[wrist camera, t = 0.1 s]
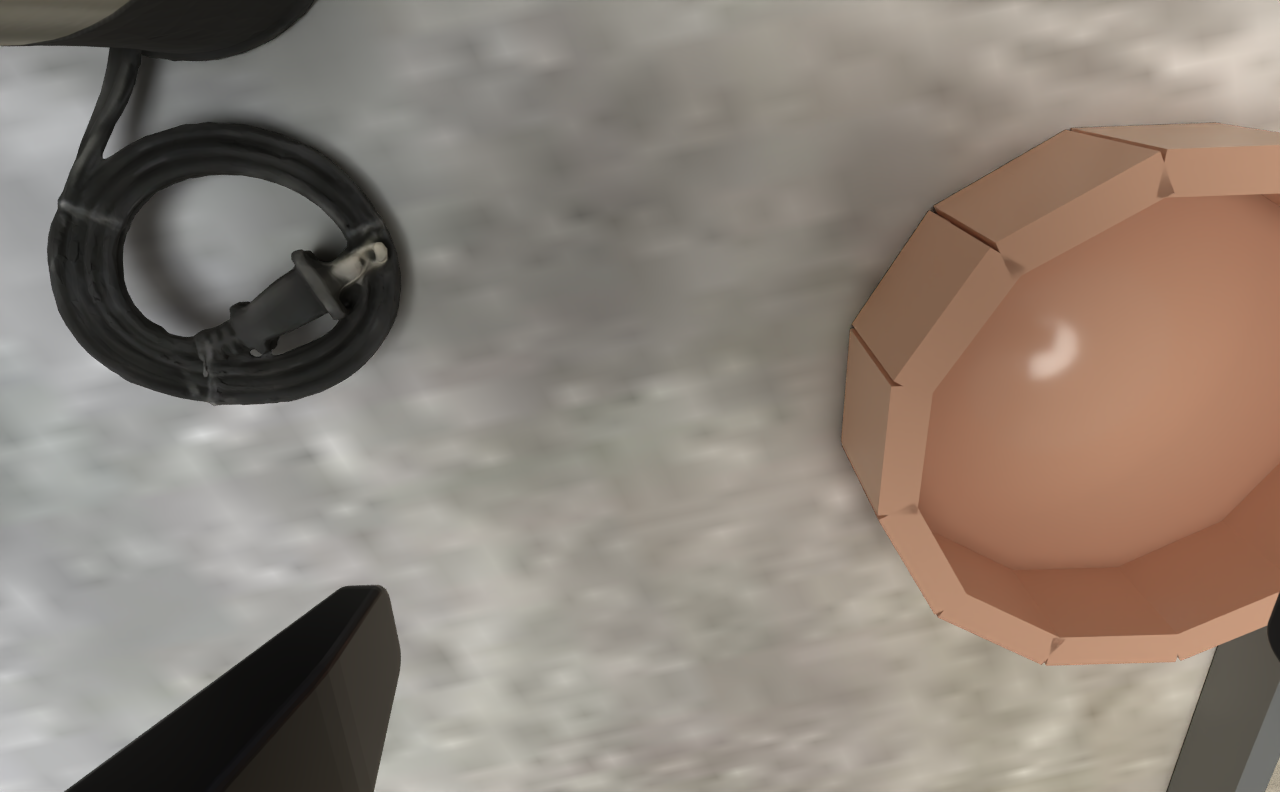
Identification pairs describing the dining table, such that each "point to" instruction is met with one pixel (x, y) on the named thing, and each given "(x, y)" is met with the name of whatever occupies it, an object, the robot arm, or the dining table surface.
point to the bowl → (1085, 396)
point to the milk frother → (120, 185)
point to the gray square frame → (1234, 721)
